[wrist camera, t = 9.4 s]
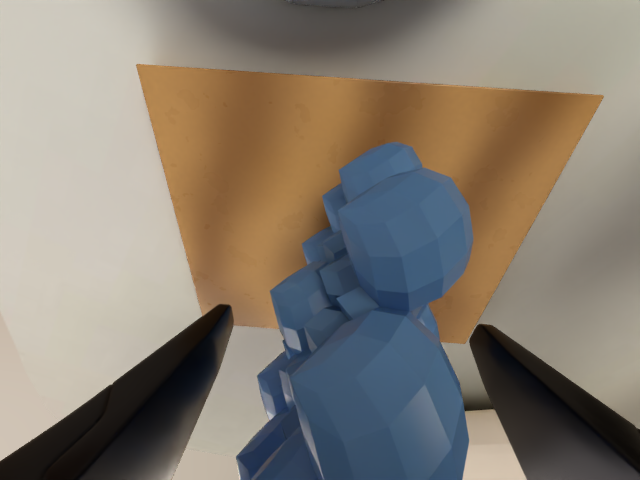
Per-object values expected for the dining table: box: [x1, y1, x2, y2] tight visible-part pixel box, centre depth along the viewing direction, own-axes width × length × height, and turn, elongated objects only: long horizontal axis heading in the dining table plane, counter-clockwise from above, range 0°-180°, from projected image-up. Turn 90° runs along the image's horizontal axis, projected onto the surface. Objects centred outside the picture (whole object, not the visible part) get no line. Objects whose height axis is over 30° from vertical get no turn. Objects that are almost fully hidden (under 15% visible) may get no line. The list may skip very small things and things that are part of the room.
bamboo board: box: [136, 64, 604, 344], centre depth 14 cm, size 20×16×1 cm
